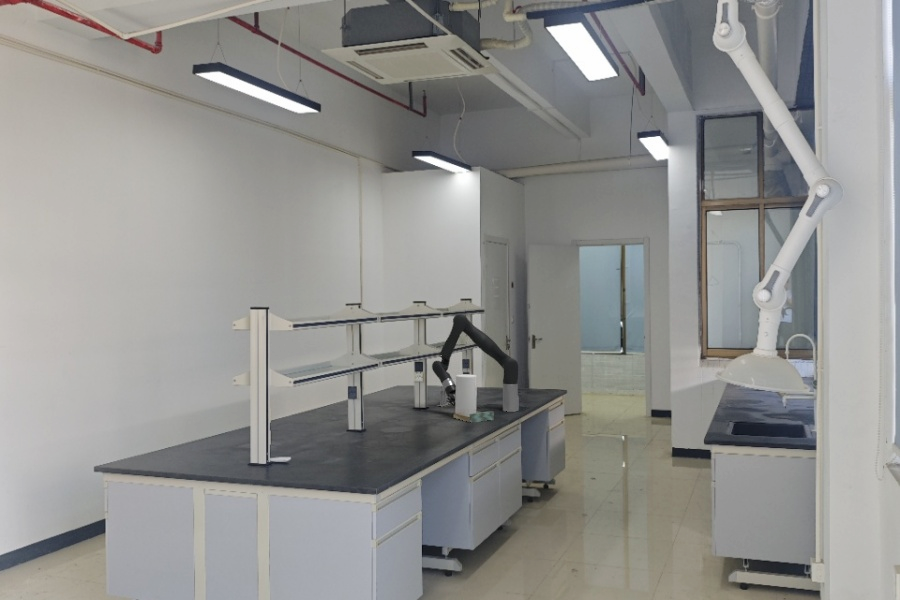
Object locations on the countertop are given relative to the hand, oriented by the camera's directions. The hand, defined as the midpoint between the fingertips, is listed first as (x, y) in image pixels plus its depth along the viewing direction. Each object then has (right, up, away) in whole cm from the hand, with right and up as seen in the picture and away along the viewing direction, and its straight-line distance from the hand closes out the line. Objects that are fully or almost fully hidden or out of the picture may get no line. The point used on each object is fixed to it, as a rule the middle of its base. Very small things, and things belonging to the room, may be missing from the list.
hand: (461, 410), depth 468 cm
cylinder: (+3, -4, -4) cm, 6 cm away
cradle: (+7, -4, -9) cm, 12 cm away
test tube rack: (-8, -3, +49) cm, 50 cm away
